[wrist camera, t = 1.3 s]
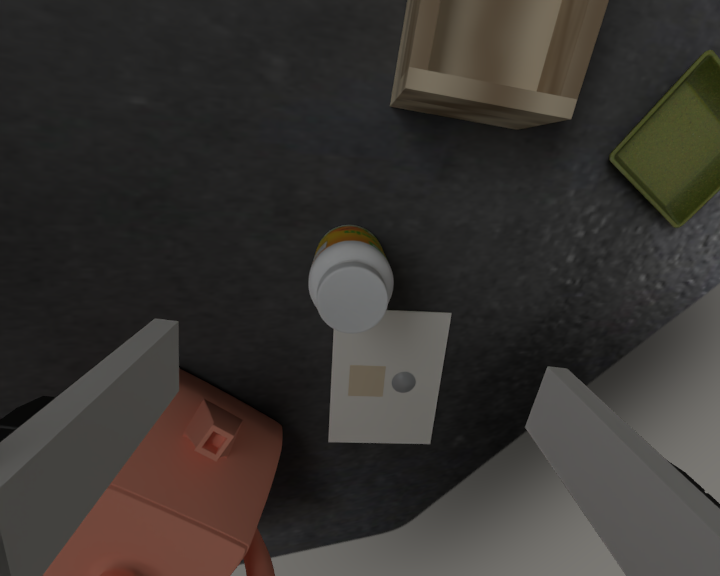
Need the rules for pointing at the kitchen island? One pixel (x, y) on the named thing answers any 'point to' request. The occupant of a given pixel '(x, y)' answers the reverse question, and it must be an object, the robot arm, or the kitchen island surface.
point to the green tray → (678, 145)
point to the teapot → (184, 495)
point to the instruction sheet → (388, 379)
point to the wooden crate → (496, 59)
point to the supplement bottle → (350, 279)
